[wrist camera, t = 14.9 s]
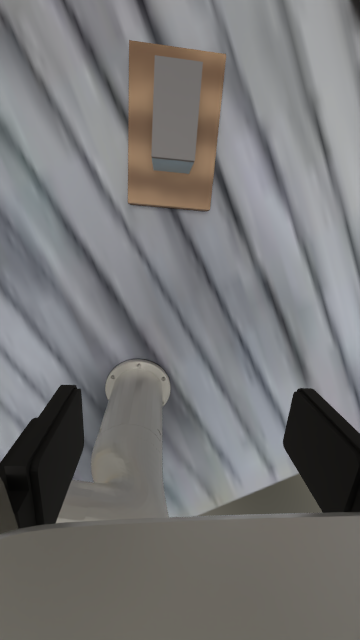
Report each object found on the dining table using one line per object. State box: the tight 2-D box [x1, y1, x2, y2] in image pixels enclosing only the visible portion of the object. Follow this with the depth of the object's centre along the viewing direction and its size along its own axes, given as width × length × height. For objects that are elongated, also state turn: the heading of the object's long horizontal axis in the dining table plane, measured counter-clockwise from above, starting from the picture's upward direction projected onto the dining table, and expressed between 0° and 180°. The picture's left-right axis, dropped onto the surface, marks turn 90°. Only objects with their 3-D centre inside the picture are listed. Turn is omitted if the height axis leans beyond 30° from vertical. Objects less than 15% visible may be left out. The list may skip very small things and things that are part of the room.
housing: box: [151, 55, 203, 174], centre depth 31 cm, size 5×9×7 cm, turn 176°
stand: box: [128, 40, 226, 211], centre depth 35 cm, size 18×12×3 cm, turn 176°
